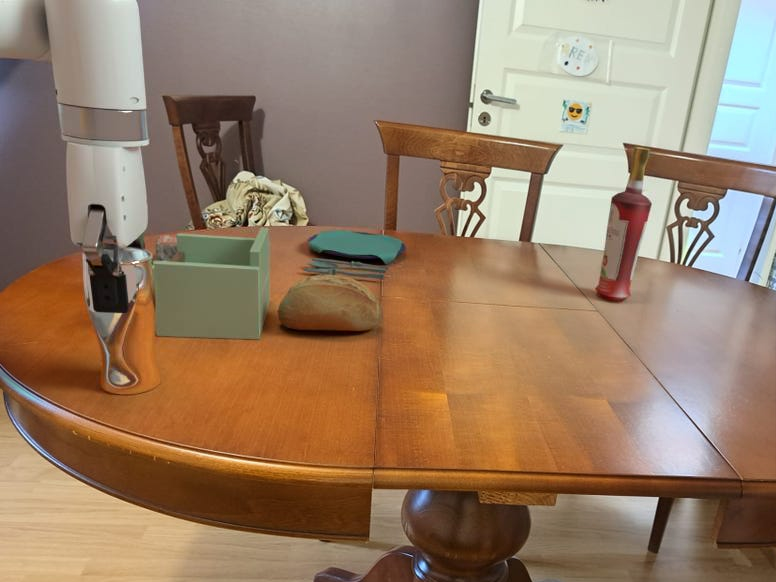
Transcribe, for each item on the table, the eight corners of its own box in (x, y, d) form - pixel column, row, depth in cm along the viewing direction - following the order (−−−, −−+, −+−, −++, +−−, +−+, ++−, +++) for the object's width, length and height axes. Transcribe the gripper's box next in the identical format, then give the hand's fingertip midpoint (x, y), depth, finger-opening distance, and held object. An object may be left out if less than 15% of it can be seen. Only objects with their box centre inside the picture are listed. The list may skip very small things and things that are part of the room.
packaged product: (152, 244, 109) (156, 229, 117) (154, 272, 111) (158, 256, 119) (266, 246, 115) (262, 232, 124) (267, 273, 117) (263, 257, 126)
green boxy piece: (156, 336, 88) (149, 247, 83) (182, 297, 102) (177, 219, 97) (259, 339, 91) (258, 254, 86) (270, 301, 105) (269, 226, 100)
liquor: (586, 291, 130) (614, 144, 119) (618, 292, 133) (649, 147, 122) (603, 304, 124) (635, 149, 113) (637, 304, 127) (671, 153, 116)
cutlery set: (410, 246, 147) (411, 236, 146) (393, 285, 119) (394, 273, 118) (320, 235, 146) (320, 225, 145) (282, 273, 119) (282, 260, 118)
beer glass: (171, 371, 79) (162, 248, 73) (156, 397, 73) (144, 265, 67) (108, 369, 78) (93, 243, 72) (86, 396, 71) (68, 261, 66)
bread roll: (384, 343, 95) (388, 289, 91) (275, 340, 91) (275, 284, 88) (379, 319, 103) (382, 269, 100) (279, 315, 100) (279, 264, 96)
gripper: (92, 114, 71) (109, 273, 78) (23, 130, 56) (52, 327, 63) (167, 122, 73) (177, 277, 80) (121, 140, 57) (139, 330, 64)
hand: (122, 298), depth 71 cm, fingers closed on beer glass, 7 cm apart
